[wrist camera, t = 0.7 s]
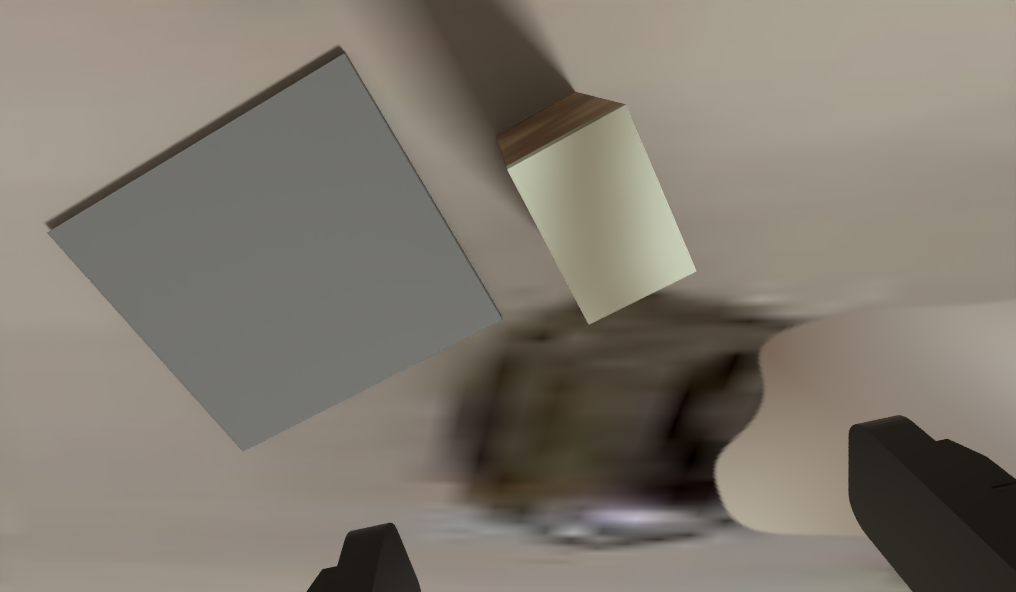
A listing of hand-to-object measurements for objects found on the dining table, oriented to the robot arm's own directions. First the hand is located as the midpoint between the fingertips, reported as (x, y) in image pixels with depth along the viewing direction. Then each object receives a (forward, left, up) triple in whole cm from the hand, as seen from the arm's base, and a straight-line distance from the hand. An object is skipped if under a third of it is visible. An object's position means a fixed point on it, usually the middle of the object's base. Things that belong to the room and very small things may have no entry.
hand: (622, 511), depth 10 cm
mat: (+11, -4, -19) cm, 22 cm away
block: (-3, -2, -19) cm, 19 cm away
